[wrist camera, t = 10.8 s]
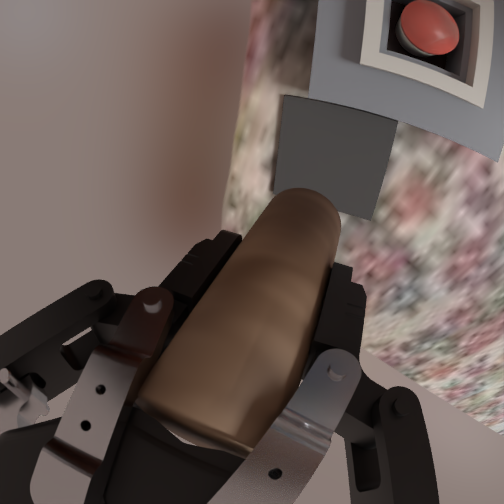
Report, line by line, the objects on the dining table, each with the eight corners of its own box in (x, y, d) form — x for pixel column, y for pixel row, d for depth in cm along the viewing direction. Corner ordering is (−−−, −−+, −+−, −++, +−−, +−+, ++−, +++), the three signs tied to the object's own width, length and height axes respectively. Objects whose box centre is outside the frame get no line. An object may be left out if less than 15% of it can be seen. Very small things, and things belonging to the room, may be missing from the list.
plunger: (443, 24, 11) (460, 13, 8) (438, 65, 13) (456, 63, 10) (396, 7, 12) (403, -8, 9) (392, 49, 14) (399, 42, 11)
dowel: (349, 200, 11) (282, 450, 4) (330, 263, 14) (261, 470, 6) (269, 179, 12) (114, 372, 5) (262, 243, 15) (151, 422, 7)
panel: (499, 2, 7) (528, -9, 3) (479, 147, 16) (506, 169, 12) (331, -53, 10) (319, -82, 6) (317, 94, 19) (303, 99, 15)
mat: (397, 120, 18) (398, 121, 17) (370, 218, 23) (370, 220, 23) (285, 94, 20) (284, 95, 20) (274, 191, 26) (273, 193, 25)
